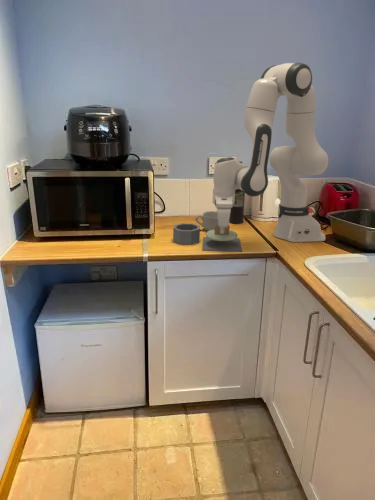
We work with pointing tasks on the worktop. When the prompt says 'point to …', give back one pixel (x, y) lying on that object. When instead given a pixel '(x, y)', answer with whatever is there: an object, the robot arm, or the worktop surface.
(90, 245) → the worktop surface
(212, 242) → the mat
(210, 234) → the lid
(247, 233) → the worktop surface
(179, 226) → the octagonal grey bowl
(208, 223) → the teacup
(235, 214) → the wine bottle
